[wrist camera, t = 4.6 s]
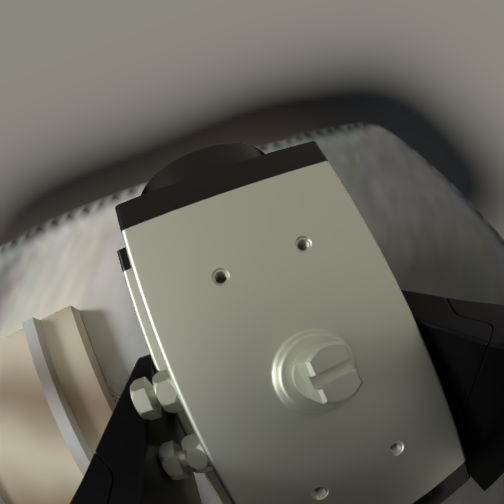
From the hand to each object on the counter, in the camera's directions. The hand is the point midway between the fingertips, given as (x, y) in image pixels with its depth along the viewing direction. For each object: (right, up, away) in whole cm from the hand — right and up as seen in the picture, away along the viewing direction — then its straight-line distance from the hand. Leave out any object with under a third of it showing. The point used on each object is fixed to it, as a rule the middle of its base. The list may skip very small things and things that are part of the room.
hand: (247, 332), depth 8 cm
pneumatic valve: (0, -4, +7) cm, 8 cm away
